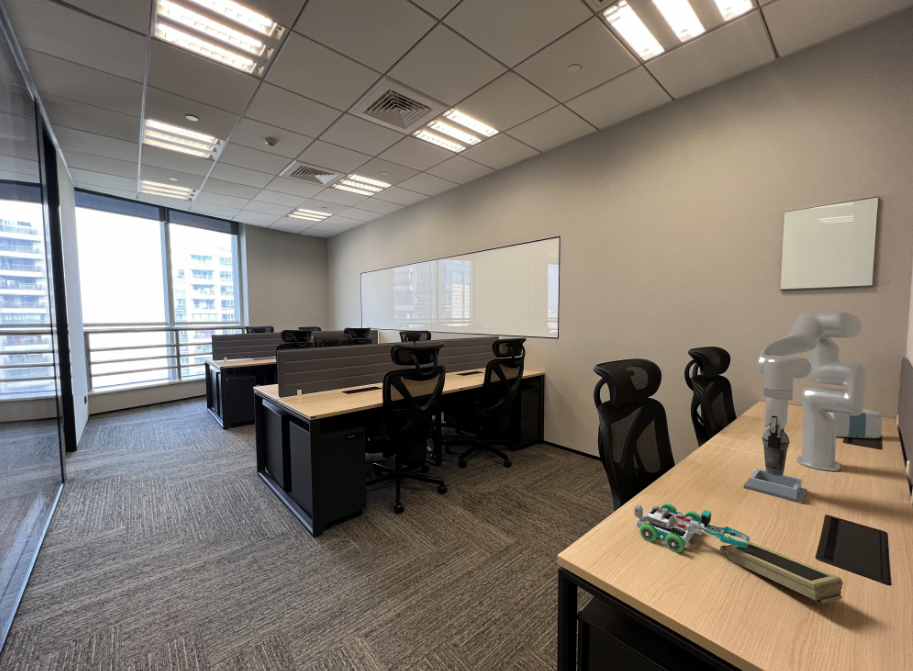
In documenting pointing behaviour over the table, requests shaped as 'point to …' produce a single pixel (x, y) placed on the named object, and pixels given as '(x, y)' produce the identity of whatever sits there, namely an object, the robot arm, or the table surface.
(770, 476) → the blue-grey tray
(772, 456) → the beverage cup
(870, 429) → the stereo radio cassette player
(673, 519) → the robot kit
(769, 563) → the box
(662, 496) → the table surface
